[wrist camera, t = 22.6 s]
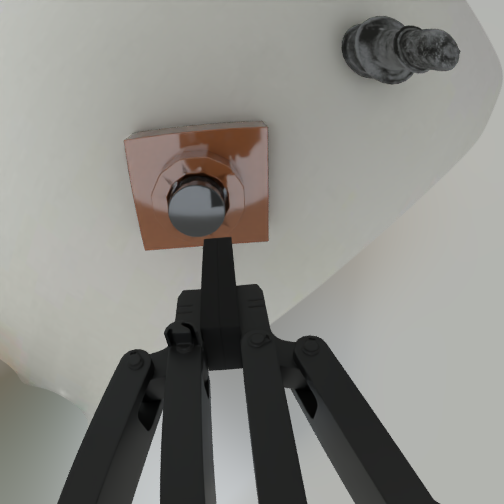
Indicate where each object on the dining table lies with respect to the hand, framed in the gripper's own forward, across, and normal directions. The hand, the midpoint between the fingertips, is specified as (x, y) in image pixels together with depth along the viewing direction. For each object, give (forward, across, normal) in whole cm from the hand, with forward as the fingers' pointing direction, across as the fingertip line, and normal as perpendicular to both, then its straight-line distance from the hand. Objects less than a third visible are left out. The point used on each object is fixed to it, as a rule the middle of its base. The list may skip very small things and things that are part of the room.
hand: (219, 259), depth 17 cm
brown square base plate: (+12, -1, +1) cm, 12 cm away
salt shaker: (+12, +14, +13) cm, 22 cm away
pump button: (+7, -1, +1) cm, 7 cm away
